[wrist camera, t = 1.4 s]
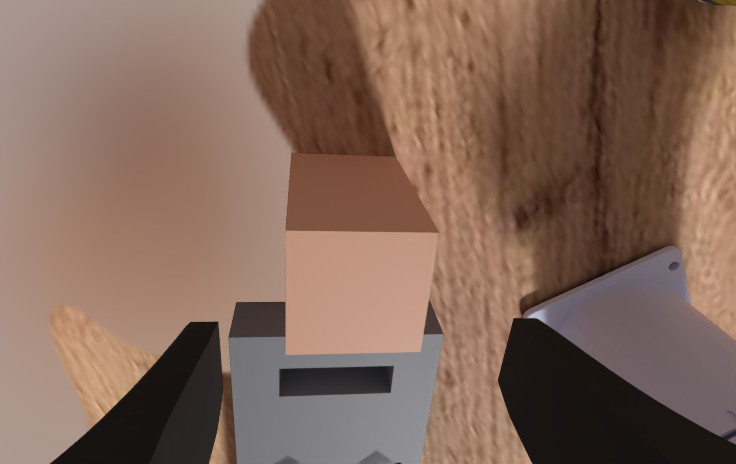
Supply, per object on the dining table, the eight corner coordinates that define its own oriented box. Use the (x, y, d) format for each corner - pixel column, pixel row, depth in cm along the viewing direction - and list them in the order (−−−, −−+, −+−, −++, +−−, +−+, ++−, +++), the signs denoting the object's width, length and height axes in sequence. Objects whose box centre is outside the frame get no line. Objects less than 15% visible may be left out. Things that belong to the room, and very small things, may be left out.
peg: (395, 156, 19) (439, 232, 13) (386, 247, 21) (420, 352, 15) (291, 152, 19) (285, 230, 13) (291, 246, 21) (285, 355, 14)
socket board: (236, 302, 22) (228, 337, 19) (429, 301, 23) (443, 334, 21) (248, 524, 28) (243, 569, 26) (396, 514, 30) (403, 556, 28)
